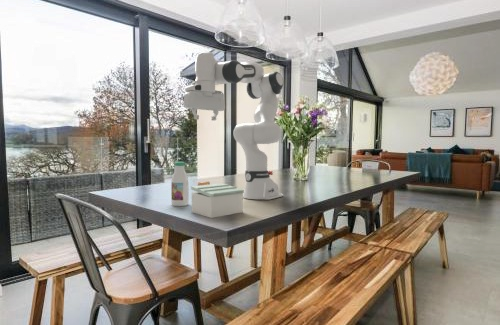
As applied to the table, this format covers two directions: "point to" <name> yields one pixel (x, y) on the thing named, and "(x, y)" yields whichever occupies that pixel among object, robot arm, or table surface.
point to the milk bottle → (179, 186)
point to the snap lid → (216, 189)
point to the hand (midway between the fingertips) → (205, 119)
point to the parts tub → (217, 204)
